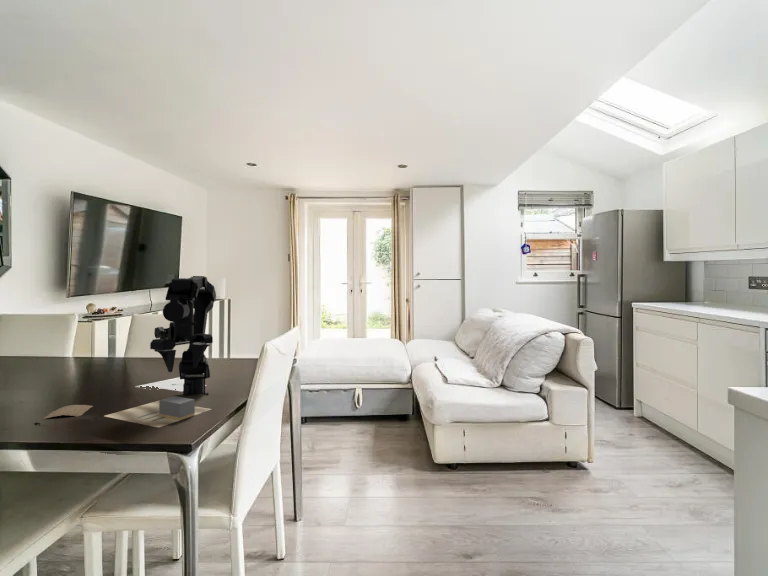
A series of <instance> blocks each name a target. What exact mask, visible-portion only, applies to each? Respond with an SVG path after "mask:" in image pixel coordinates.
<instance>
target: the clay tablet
mask: <svg viewBox="0 0 768 576" xmlns="http://www.w3.org/2000/svg"><path fill="white" fill-rule="evenodd" d="M93 407H94V405H88V404H71V405H65V406H62V407H60V408H57V409H55V410H54V411H52V412H50V413H48V414H47V415H46V416H44V418H43V420H45V419H50V418H53V417H58V416H59V417H61V416H70V417H71V416H73V417H79V416H80V417H81V416H82V415H83V414H84V413H86V412H88V411H89V410H90V409H91V408H93Z"/></svg>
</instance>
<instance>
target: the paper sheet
mask: <svg viewBox="0 0 768 576" xmlns="http://www.w3.org/2000/svg"><path fill="white" fill-rule="evenodd" d="M183 384H184V379H180V376H178V377H175V378H170V379H164V380H160V381H154V382H150V383H146V384H140V385H136V386H134V387H135V388H140V386H142V387H146V386H149V387H151V388H152V386H154V387H155V388H156V387H158V388H159V389H163V390H169V391H177V392H183ZM207 386H208V385H206V384H205V387H207ZM159 389H158V390H159ZM175 389H176V390H175Z"/></svg>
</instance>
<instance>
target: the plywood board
mask: <svg viewBox="0 0 768 576" xmlns="http://www.w3.org/2000/svg"><path fill="white" fill-rule="evenodd" d="M212 410H213V409H212V408H208V407H202V406H201V407H200V406H195V415H194V416H196V415H200V414H202V413H205V412H208V411H212ZM105 417H106V418H111V419H116V420H121V421H125V422H130V423H135V424H139V425H140V424H141V425H144V426H150V427H153V428H162V427H164V426H167V425H171V424H173V423H177V422H179V421H181V420H176V419H171V418H166V417H161V416H159V400H157V401H153V402H149V403H148V402H147V403H146V404H141V405H138V406H134V407H131V408H128V409H127V408H126V409H123V410H119V411H117V412H114V413H109V414H105V415H104V418H105Z"/></svg>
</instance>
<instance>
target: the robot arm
mask: <svg viewBox="0 0 768 576" xmlns="http://www.w3.org/2000/svg"><path fill="white" fill-rule="evenodd" d="M216 300H217V292H216V289H215V286H214V285H213V284H212V283H210V281H208V278H207V276H204V275H192V276H190V277H188V278H187V277H186V278H185V277H184V278H181V277H180V278H176V277H174V278H172V279H171V281H169V284H168V288H167V291H166V296H165V301H169V302H168V303H166V304H165V305H164V306H163V308H162V316H163V317H164V318H165V320H167V321H168V322H169V324H168V325H169V326H168V327H167V328H166V327H165V328H164V326H158V327H154V331H153V333H154V337H155V339H152V340H151V341H150V343H149V346H150V347H149V348H150V349H149V350H153V351H154V352H157V353H158V354H160V355H161V357H162V359H163V361H164V365H165V366H166V367H165V368H166V369H167V372H168V373H172V372H173V369H174V366H175V358H176V352H177V349H175V347H176V346H181V345H188V348H187V349H186V350H183V352H182V355H181V360H180V362H179V365H178V373H179V377H180V379H184V384H183V391H182V392H183V393H182V394H183V396H194V395H195V396H196V395H202V396H208V395H209V392H206V386H205V385H206V380H207V379H210V378H211V370H210V365H209V362H208V359H207V357H206V354H205V352H206V351H207V349H208V347H210V344H213V343H214V341H213V340H214V339H213V336H212V334H211V333H206V330H207V329H206V327H207V319H208V314H209V312H210V311H211V310H212V309H213V308H214V306H215V305H214V304H215V302H216Z"/></svg>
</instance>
